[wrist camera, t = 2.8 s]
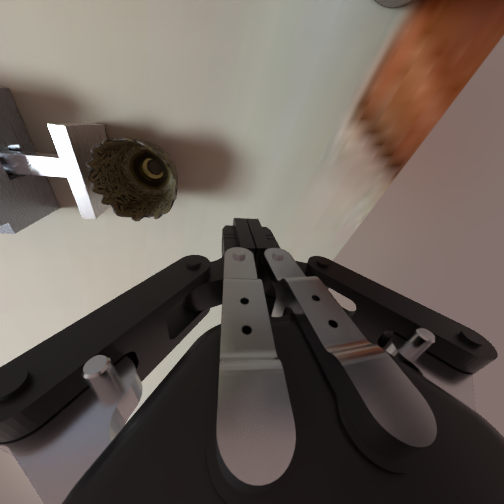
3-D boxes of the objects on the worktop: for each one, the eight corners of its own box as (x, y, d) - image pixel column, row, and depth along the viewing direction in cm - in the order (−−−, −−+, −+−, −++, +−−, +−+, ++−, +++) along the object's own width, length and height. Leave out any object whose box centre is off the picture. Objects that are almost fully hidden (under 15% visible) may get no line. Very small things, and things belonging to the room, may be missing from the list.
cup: (178, 131, 23) (165, 136, 16) (191, 194, 27) (183, 218, 20) (110, 134, 22) (66, 139, 15) (133, 198, 26) (107, 224, 20)
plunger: (103, 124, 21) (48, 126, 14) (121, 197, 25) (85, 227, 18) (-12, 110, 19) (-145, 104, 12) (28, 191, 23) (-52, 222, 16)
